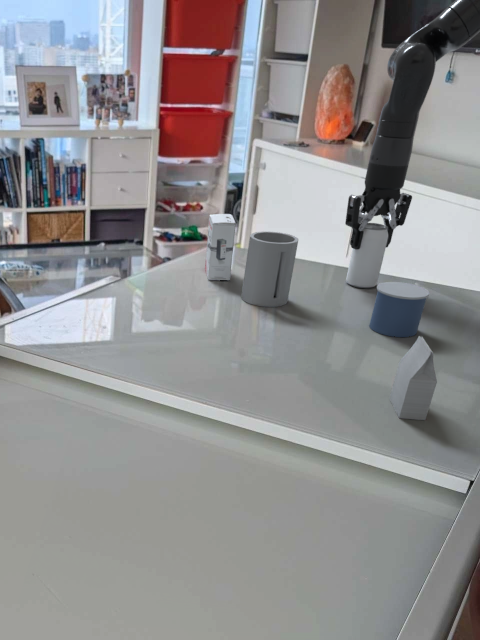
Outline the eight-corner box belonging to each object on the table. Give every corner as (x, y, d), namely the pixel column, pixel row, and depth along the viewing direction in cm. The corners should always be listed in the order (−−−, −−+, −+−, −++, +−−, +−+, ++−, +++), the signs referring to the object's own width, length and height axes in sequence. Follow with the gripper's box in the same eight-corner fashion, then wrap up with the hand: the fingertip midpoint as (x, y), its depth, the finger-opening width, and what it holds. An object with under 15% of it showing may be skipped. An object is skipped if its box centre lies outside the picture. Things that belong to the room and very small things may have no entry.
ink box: (203, 268, 168) (209, 212, 162) (225, 269, 168) (233, 213, 162) (206, 280, 161) (213, 222, 154) (230, 281, 161) (238, 223, 154)
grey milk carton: (398, 418, 109) (417, 352, 103) (389, 398, 114) (406, 334, 109) (425, 420, 109) (445, 354, 103) (414, 400, 114) (433, 336, 109)
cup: (259, 289, 157) (269, 229, 151) (296, 300, 152) (307, 239, 145) (232, 297, 152) (240, 235, 145) (268, 309, 147) (279, 246, 140)
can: (340, 279, 165) (352, 222, 158) (369, 279, 166) (382, 222, 159) (352, 288, 160) (365, 229, 153) (381, 288, 160) (395, 230, 154)
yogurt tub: (397, 318, 145) (407, 280, 141) (429, 335, 138) (440, 295, 134) (357, 322, 142) (366, 283, 138) (388, 340, 135) (398, 299, 131)
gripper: (370, 165, 144) (351, 254, 153) (431, 163, 148) (409, 250, 158) (347, 158, 150) (329, 244, 159) (406, 157, 154) (386, 241, 164)
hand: (369, 247), depth 158 cm, fingers closed on can, 6 cm apart
